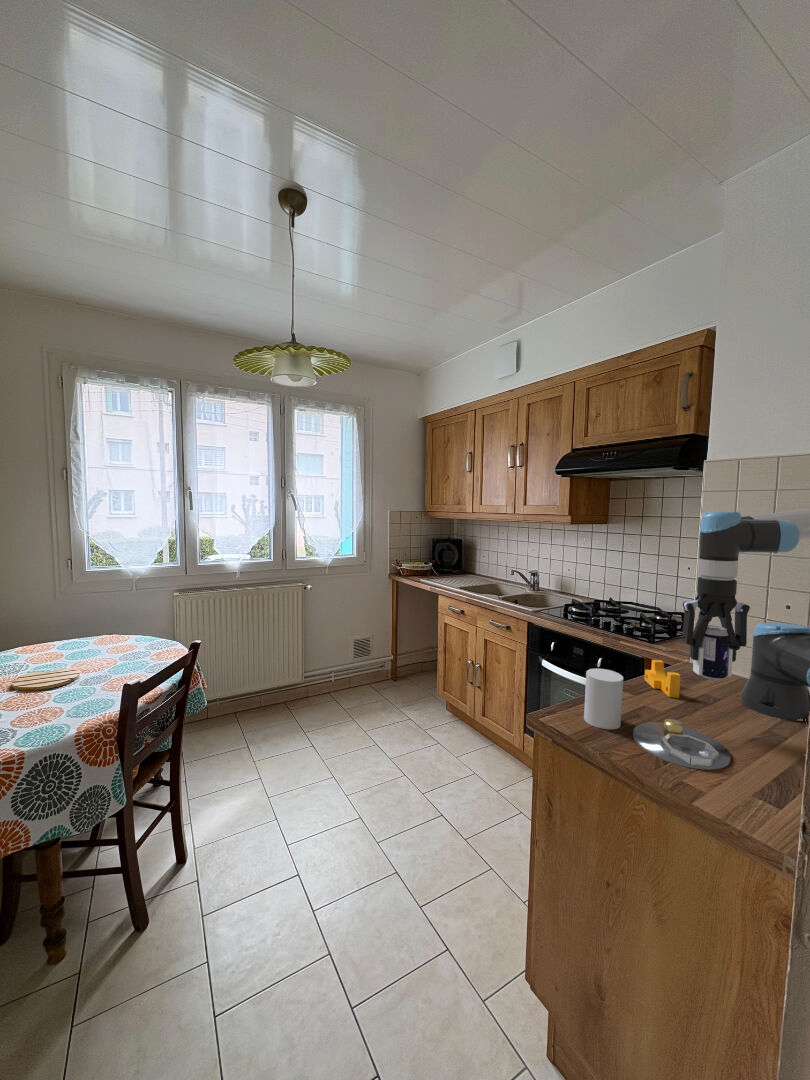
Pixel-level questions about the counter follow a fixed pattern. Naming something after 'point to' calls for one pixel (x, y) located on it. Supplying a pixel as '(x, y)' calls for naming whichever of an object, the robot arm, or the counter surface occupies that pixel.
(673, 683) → the pipe clamp
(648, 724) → the carrier
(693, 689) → the counter surface
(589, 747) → the counter surface
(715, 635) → the beverage can
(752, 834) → the counter surface
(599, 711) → the white cylinder
